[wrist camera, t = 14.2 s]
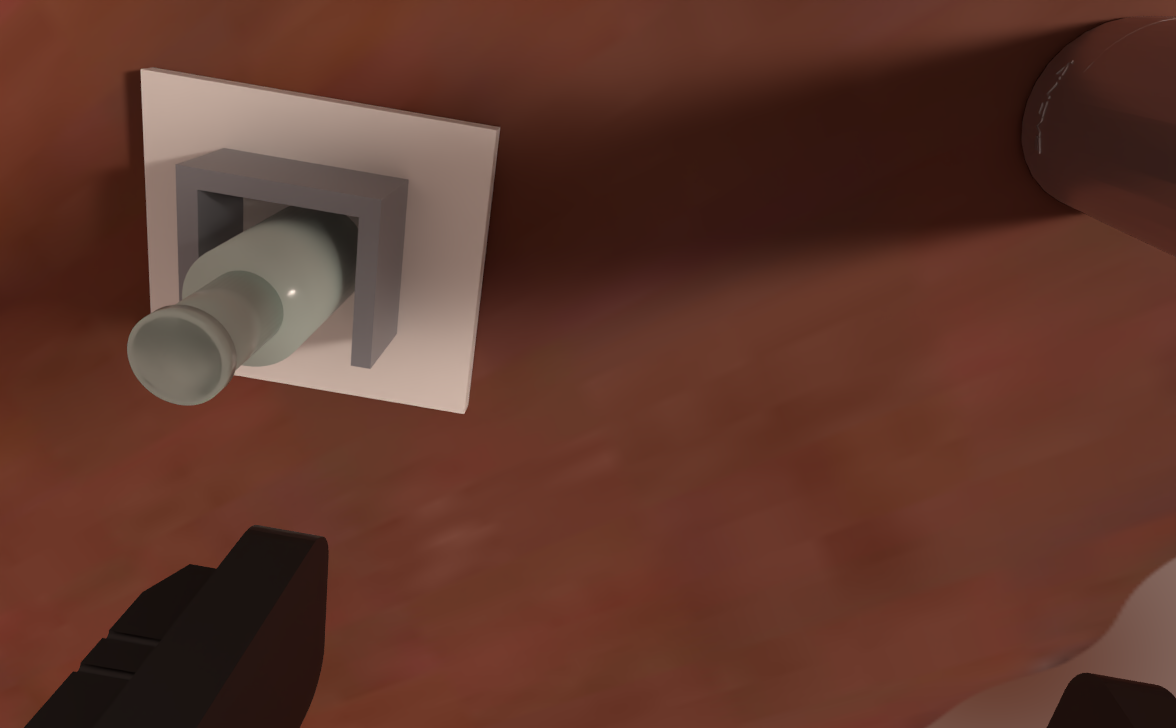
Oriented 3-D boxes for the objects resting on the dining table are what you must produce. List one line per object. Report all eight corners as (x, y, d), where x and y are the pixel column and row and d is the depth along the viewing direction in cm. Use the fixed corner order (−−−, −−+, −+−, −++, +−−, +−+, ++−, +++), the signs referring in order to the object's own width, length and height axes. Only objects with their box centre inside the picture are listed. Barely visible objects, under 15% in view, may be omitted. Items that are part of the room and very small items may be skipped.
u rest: (500, 127, 44) (478, 145, 39) (468, 405, 50) (445, 456, 45) (153, 67, 44) (80, 76, 38) (163, 353, 50) (102, 397, 45)
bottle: (371, 211, 45) (252, 302, 31) (364, 311, 47) (250, 437, 33) (265, 193, 45) (98, 276, 31) (263, 294, 47) (107, 413, 33)
